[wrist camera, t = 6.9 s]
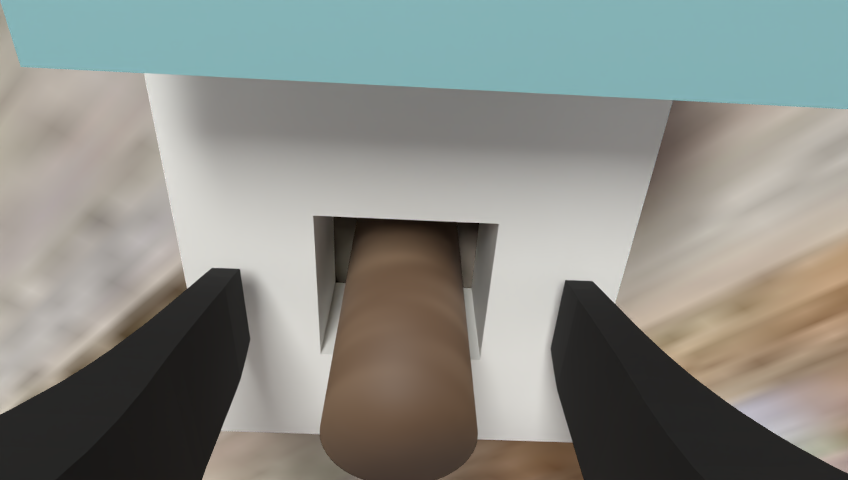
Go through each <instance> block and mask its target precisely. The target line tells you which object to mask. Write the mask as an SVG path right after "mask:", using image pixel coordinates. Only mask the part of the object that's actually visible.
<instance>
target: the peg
mask: <svg viewBox="0 0 848 480" xmlns="http://www.w3.org/2000/svg"><path fill="white" fill-rule="evenodd" d="M477 439H478V428H477V418H476V409H475V399H474V389H473V379H472V369H471V359H470V349H469V339H468V329H467V319H466V309H465V299H464V289H463V280H462V270H461V260H460V250H459V240H458V230H457V222H447V221H425V220H402V219H379V218H357V222H356V228H355V233H354V239H353V244H352V250H351V256H350V261H349V267H348V272H347V278H346V284H345V289H344V295H343V300H342V306H341V312H340V317H339V323H338V328H337V334H336V340H335V345H334V351H333V356H332V362H331V367H330V373H329V379H328V384H327V390H326V395H325V401H324V407H323V412H322V418H321V423H320V440H321V443H322V446H323V448H324V450H325V452H326V454H327V455H328V456H329V457H330V459H331V460H332V461H333V462H334V463H335V464H336V465H337V466H339V467H340V468H341V469H343V470H344V471H346V472H348V473H349V474H351V475H353V476H356V477H358V478H360V479H363V480H437V479H439V478H442V477H444V476H446V475H448V474H450V473H452V472H453V471H455V470H457V469H458V468H459V467H460V466H462V465H463V464H464V463H465V462H466V461H467V460H468V459H469V457H470V456H471V454H472V453H473V451H474V449H475V447H476V443H477Z"/></svg>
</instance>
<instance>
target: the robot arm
mask: <svg viewBox="0 0 848 480" xmlns="http://www.w3.org/2000/svg"><path fill="white" fill-rule="evenodd" d="M249 343H250V333H249V327H248V320H247V313H246V306H245V300H244V293H243V286H242V279H241V273H240V269H233V268H211V269H210V270H209V271H208V272H206V273H205V274H204V275H203V276H202V277H200V278H199V279H198V280H197V281H196V282H195V283H193V284H192V285H191V286H190V287H189V288H188V289H186V290H185V291H184V292H183V293H182V294H181V295H179V296H178V297H177V298H176V299H175V300H174V301H172V302H171V303H170V304H169V305H168V306H166V307H165V308H164V309H163V310H162V311H160V312H159V313H158V314H157V315H156V316H154V317H153V318H152V319H151V320H149V321H148V322H147V323H146V324H144V325H143V326H142V327H140V328H139V329H138V330H136V331H135V332H134V333H132V334H131V335H130V336H128V337H127V338H126V339H124V340H123V341H122V342H120V343H119V344H118V345H116V346H115V347H114V348H112V349H111V350H110V351H108V352H107V353H105V354H104V355H102V356H101V357H99V358H98V359H97V360H95V361H94V362H92V363H91V364H89V365H87V366H86V367H84V368H83V369H81V370H79V371H78V372H76V373H75V374H73V375H71V376H70V377H68V378H67V379H65V380H63V381H62V382H60V383H58V384H57V385H55V386H53V387H51V388H49V389H47V390H46V391H44V392H42V393H40V394H38V395H36V396H35V397H33V398H31V399H29V400H27V401H25V402H24V403H22V404H20V405H18V406H16V407H14V408H13V409H11V410H9V411H7V412H5V413H3V414H1V415H0V480H202V478H203V475H204V472H205V469H206V466H207V464H208V461H209V459H210V456H211V454H212V451H213V449H214V446H215V444H216V441H217V439H218V436H219V434H220V431H221V429H222V426H223V424H224V421H225V419H226V416H227V414H228V411H229V409H230V406H231V403H232V401H233V398H234V396H235V393H236V390H237V388H238V385H239V383H240V380H241V376H242V372H243V368H244V364H245V361H246V356H247V352H248V348H249ZM551 355H552V362H553V369H554V375H555V381H556V387H557V391H558V395H559V398H560V402H561V405H562V408H563V412H564V415H565V419H566V422H567V425H568V429H569V432H570V435H571V439H572V442H573V445H574V448H575V452H576V455H577V458H578V462H579V465H580V468H581V472H582V475H583V478H584V480H848V473H845V472H843V471H841V470H839V469H837V468H835V467H833V466H831V465H829V464H828V463H826V462H824V461H822V460H820V459H818V458H817V457H815V456H813V455H811V454H809V453H807V452H806V451H804V450H802V449H800V448H798V447H797V446H795V445H793V444H791V443H790V442H788V441H786V440H785V439H783V438H781V437H779V436H778V435H776V434H774V433H773V432H771V431H770V430H768V429H767V428H765V427H763V426H762V425H760V424H759V423H757V422H756V421H754V420H752V419H751V418H749V417H748V416H746V415H745V414H743V413H742V412H740V411H739V410H737V409H736V408H734V407H733V406H731V405H730V404H729V403H727V402H726V401H724V400H723V399H722V398H720V397H719V396H718V395H716V394H715V393H714V392H712V391H711V390H710V389H708V388H707V387H706V386H704V385H703V384H702V383H700V382H699V381H698V380H697V379H695V378H694V377H693V376H692V375H690V374H689V373H688V372H687V371H685V370H684V369H683V368H682V367H681V366H680V365H678V364H677V363H676V362H675V361H674V360H673V359H672V358H670V357H669V356H668V355H667V354H666V353H665V352H664V351H662V350H661V349H660V348H659V347H658V346H657V345H656V344H655V343H654V342H653V341H652V340H651V339H650V338H649V337H647V336H646V335H645V334H644V333H643V332H642V331H641V330H640V329H639V328H638V327H637V326H636V325H635V324H634V323H633V322H632V321H631V320H630V319H629V318H628V317H627V316H626V315H625V314H624V313H623V312H622V311H621V310H620V309H619V308H618V307H617V306H616V304H615V303H614V302H613V301H612V300H611V299H610V298H609V297H608V296H607V295H606V294H605V293H604V292H603V291H602V290H601V289H600V288H599V287H598V286H597V285H596V284H595V283H594V282H593V281H578V280H565V284H564V288H563V293H562V298H561V302H560V307H559V312H558V316H557V321H556V326H555V330H554V335H553V340H552V344H551Z"/></svg>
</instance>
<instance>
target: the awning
mask: <svg viewBox="0 0 848 480" xmlns="http://www.w3.org/2000/svg"><path fill="white" fill-rule="evenodd" d="M0 1H1V4H2V8H3V11H4V14H5V17H6V20H7V24H8V27H9V30H10V33H11V37H12V40H13V43H14V46H15V49H16V53H17V56H18V59H19V62H20V65H21V67H35V68H54V69H74V70H93V71H113V72H132V73H152V74H172V75H191V76H211V77H230V78H250V79H269V80H289V81H308V82H328V83H347V84H367V85H387V86H406V87H426V88H445V89H465V90H484V91H504V92H523V93H543V94H563V95H582V96H602V97H621V98H641V99H660V100H680V101H699V102H719V103H739V104H758V105H778V106H797V107H817V108H836V109H848V0H0Z"/></svg>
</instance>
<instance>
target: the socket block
mask: <svg viewBox="0 0 848 480" xmlns="http://www.w3.org/2000/svg"><path fill="white" fill-rule="evenodd" d="M144 76H145V81H146V86H147V91H148V96H149V101H150V106H151V111H152V116H153V121H154V126H155V131H156V136H157V141H158V146H159V151H160V156H161V161H162V166H163V171H164V176H165V181H166V186H167V191H168V196H169V201H170V206H171V210H172V215H173V220H174V225H175V230H176V235H177V240H178V245H179V250H180V255H181V260H182V265H183V270H184V275H185V280H186V285H187V289H188V288H189V287H190V286H191V285H192V284H193V283H195V282H196V281H197V280H198V279H199V278H200V277H202V276H203V275H204V274H205V273H206V272H208V271H209V270H210V269H211V268H233V269H240V273H241V279H242V286H243V293H244V300H245V306H246V313H247V320H248V327H249V333H250V343H249V348H248V352H247V356H246V361H245V364H244V368H243V372H242V376H241V380H240V383H239V385H238V388H237V390H236V393H235V396H234V398H233V401H232V403H231V406H230V409H229V411H228V414H227V416H226V419H225V421H224V424H223V426H222V429H221V431H240V432H270V433H301V434H320V423H321V418H322V412H323V407H324V401H325V395H326V390H327V384H328V379H329V373H330V367H331V362H332V356H333V351H334V345H335V340H336V334H337V328H338V323H339V317H340V312H341V306H342V300H343V295H344V289H345V284H346V283H335V254H334V224H333V216H334V217H357V218H379V219H402V220H425V221H447V222H470V223H479V229H478V237H477V246H476V254H475V263H474V271H473V279H472V288H463V289H464V299H465V309H466V319H467V329H468V339H469V349H470V359H471V369H472V379H473V389H474V399H475V409H476V418H477V428H478V439H484V440H514V441H545V442H572V439H571V435H570V432H569V429H568V425H567V422H566V419H565V415H564V412H563V408H562V405H561V402H560V398H559V395H558V391H557V387H556V381H555V375H554V369H553V362H552V355H551V344H552V340H553V335H554V330H555V326H556V321H557V316H558V312H559V307H560V302H561V298H562V293H563V288H564V284H565V280H578V281H593V282H594V283H595V284H596V285H597V286H598V287H599V288H600V289H601V290H602V291H603V292H604V293H605V294H606V295H607V296H608V297H609V298H610V299H611V300H612V301H613V302H614V303H615V302H616V298H617V295H618V291H619V288H620V284H621V281H622V277H623V274H624V270H625V267H626V263H627V260H628V256H629V253H630V249H631V246H632V242H633V239H634V235H635V232H636V228H637V225H638V221H639V218H640V214H641V211H642V207H643V204H644V200H645V197H646V193H647V190H648V187H649V183H650V180H651V176H652V173H653V169H654V166H655V162H656V159H657V155H658V152H659V148H660V145H661V141H662V138H663V134H664V131H665V127H666V124H667V120H668V117H669V113H670V110H671V106H672V103H673V100H660V99H641V98H621V97H602V96H582V95H563V94H543V93H523V92H504V91H484V90H465V89H445V88H426V87H406V86H387V85H367V84H347V83H328V82H308V81H289V80H269V79H250V78H230V77H211V76H191V75H172V74H152V73H144Z"/></svg>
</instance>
